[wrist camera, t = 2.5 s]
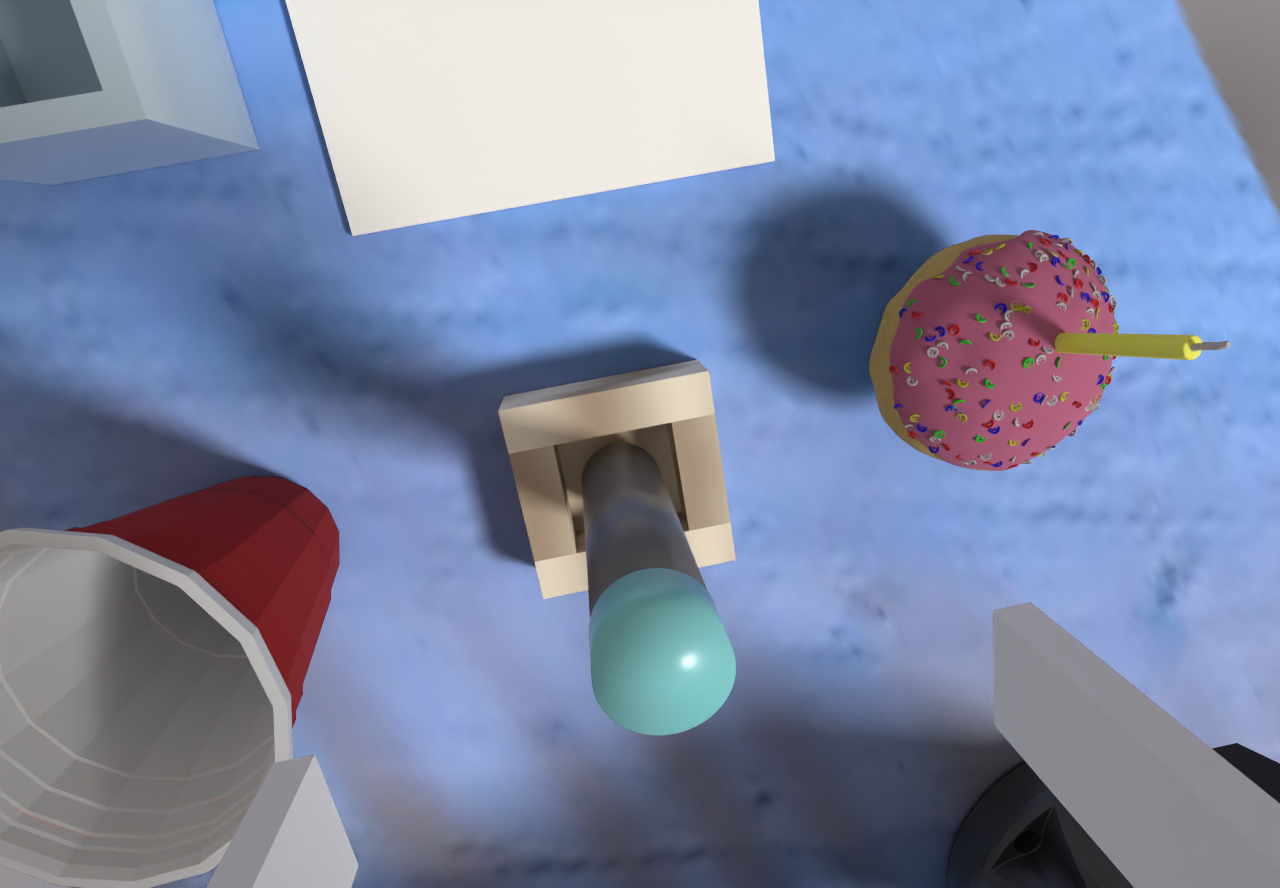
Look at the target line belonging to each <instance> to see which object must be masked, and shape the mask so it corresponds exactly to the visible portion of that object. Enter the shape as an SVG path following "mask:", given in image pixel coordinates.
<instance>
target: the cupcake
mask: <svg viewBox="0 0 1280 888" xmlns="http://www.w3.org/2000/svg"><path fill="white" fill-rule="evenodd" d="M1065 240H1066V241H1065ZM1067 240H1070V241H1067ZM1072 242H1073V240H1072V239H1071V238H1062V239H1060V238H1058V235H1050V234H1048V233H1044V232H1040V231H1034V230H1029V231H1025V232H1024V233H1022V234H1021V235H1019V236H1017V235H985V236H980V237H976V238H973V239H970V240H968V241H965V242H962V243H959V244H955V245H952V246H949V247H947V248H945V249H942V250H941V251H939V252H937V253H935V254H934V255H933V256H931V257H930V258H929V259H928V260H927V261H926V262H925V263H924V264H923V265H922V266H921V267H920V268H919V269H918V270H917V271H916V272H915V273H914V274H913V275H912V277H911V278H910V279H909V280H908V281H907V283H906V284H905V285H904V287H903V288H902V289H901V290H900V291H899V292H898V293H897V294H896V295H895V296H894V297H893V298H892V299H891V300H890V301H889V303H888V304H887V306H886V308H885V310H884V313H883V316H882V319H881V323H880V326H879V329H878V333H877V336H876V340H875V343H874V346H873V349H872V353H871V357H870V362H869V371H870V377H871V380H872V383H873V386H874V390H875V394H876V399H877V403H878V407H879V410H880V413H881V415H882V417H883V419H884V420H885V422H886V423H887V424H888V425H889V427H890V428H891V429H892V430H893V431H894V432H895V433H896V434H897V435H898V436H899V437H900V438H901V439H902V440H903V441H905V442H906V443H907V444H909V445H910V446H912V447H913V448H915V449H916V450H918V451H920V452H922V453H924V454H926V455H929V456H931V457H934V458H936V459H939V460H942V461H945V462H948V463H950V464H953V465H957V466H960V467H964V468H969V469H976V470H985V471H1001V470H1008V469H1011V468H1013V467H1016V466H1018V465H1019V464H1021V463H1023V464H1029V463H1032V461H1027V460H1029V459H1032V458H1034V457H1036V456H1038V457H1043V456H1044V455H1045V454H1046V453H1047V450H1048V449H1054V448H1055V446H1054V445H1056V444H1057V443H1058V442H1059V441H1061V440H1062V439H1063V438H1065V437H1066V436H1067V435H1069V436H1075V435H1076V433H1077V430H1076V428H1077V427H1078V426H1079V425H1081V423H1082V421H1083V420H1084V419H1085V418H1086V417H1087V416H1088V415H1089V414H1090V413H1091V412H1092V411H1094V410H1096V409H1097V408H1098V407H1099V404H1098V403H1097V402H1098V401H1099V400H1101V399H1102V398H1103V396H1102V394H1103V391H1104V389H1105V386H1106V385H1108V384H1109V383H1110V382H1111V378H1112V376H1111V374H1110V373H1111V372H1112V371H1113V370H1114V369H1115V367H1112V368H1111V363H1112V359H1115V358H1116V356H1127V357H1145V358H1163V359H1181V360H1192V359H1195V358H1197V357H1198V356H1199V355H1200V353H1201V351H1202V350H1222V349H1226V348H1228V347H1230V345H1231V343H1230V341H1223V342H1203V343H1202V341H1201V339H1200V338H1199V337H1198V336H1195V335H1156V334H1118V329H1119V326H1118V324H1116V319H1114V310H1115V309H1116V307H1117V304H1116V302H1115V301H1114V299H1115V297H1114V295H1111V296H1109V294H1110V293H1109V291H1108V289H1107V287H1106V286H1105V285H1104V284H1105V283H1106V282H1107V279H1106V277H1105V276H1102V275H1100V274H1101V273H1102V272H1101V270H1100V268H1098V267H1097V264H1096V262H1095V261H1094V260H1091V261H1090V257H1089V256H1088V255H1083V252H1082V251H1081V250H1078V249H1076V248H1075V247H1074V246H1072V245H1071V243H1072ZM1086 257H1087V258H1086ZM1091 263H1092V264H1091ZM1093 264H1094V266H1093ZM1097 269H1098V270H1097ZM1101 278H1103V279H1102V280H1104V281H1103V282H1102V280H1101ZM1111 299H1112V301H1111ZM1113 303H1114V306H1113ZM1112 306H1113V307H1114V308H1112ZM1110 368H1111V369H1110ZM1107 380H1108V381H1107ZM1095 405H1096V406H1095ZM1094 407H1096V408H1094ZM1073 430H1074V431H1073ZM1072 432H1074V434H1072ZM1070 433H1071V434H1070ZM1043 453H1044V454H1043Z"/></svg>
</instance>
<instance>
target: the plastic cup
mask: <svg viewBox="0 0 1280 888" xmlns="http://www.w3.org/2000/svg"><path fill="white" fill-rule="evenodd" d="M338 567H339V531H338V528H337V526H336V524H335V522H334V520H333V518H332V516H331V513H330V511H329V509H328V508H327V507H326V506H325V505H324V504H323V503H322V502H321V501H320V500H319V499H318V498H317V497H315V496H314V495H313V494H312V493H311V492H310V491H309V490H308V489H306V488H304V487H301V486H299V485H297V484H294V483H292V482H290V481H287V480H285V479H283V478H276V477H261V476H250V477H241V478H237V479H234V480H231V481H228V482H224V483H221V484H218V485H215V486H212V487H210V488H206V489H203V490H200V491H196V492H193V493H190V494H187V495H183V496H180V497H177V498H174V499H170V500H167V501H165V502H162V503H159V504H156V505H153V506H150V507H147V508H144V509H141V510H138V511H135V512H133V513H130V514H127V515H124V516H121V517H118V518H115V519H112V520H109V521H106V522H105V521H104V522H101V523H97V524H94V525H91V526H87V527H84V528H76V527H74V528H71V529H68V530H64V531H60V530H48V529H36V528H25V527H24V528H16V529H9V530H5V531H2V532H0V865H2V866H5V867H7V868H10V869H13V870H16V871H19V872H21V873H24V874H27V875H29V876H32V877H35V878H38V879H40V880H43V881H46V882H49V883H51V884H54V885H57V886H66V887H82V888H150V887H154V886H158V885H162V884H165V883H169V882H173V881H177V880H181V879H184V878H188V877H192V876H196V875H200V874H203V873H207V872H209V871H210V870H211V869H213V868H214V867H215V866H217V865H218V864H219V863H220V861H221V859H222V857H223V855H224V853H225V852H226V850H227V848H228V846H229V844H230V842H231V840H232V839H233V837H234V835H235V833H236V831H237V829H238V827H239V826H240V824H241V822H242V820H243V818H244V816H245V814H246V813H247V811H248V809H249V807H250V805H251V803H252V802H253V800H254V798H255V796H256V794H257V792H258V790H259V789H260V787H261V785H262V783H263V781H264V779H265V777H266V776H267V774H268V772H269V770H270V768H271V766H272V764H273V763H276V762H280V761H285V760H290V759H293V747H292V728H293V725H294V723H295V720H296V709H297V707H298V704H299V702H300V699H301V697H302V694H303V682H304V679H305V676H306V673H307V670H308V667H309V664H310V661H311V658H312V655H313V652H314V649H315V646H316V643H317V640H318V637H319V634H320V631H321V628H322V625H323V622H324V618H325V615H326V612H327V609H328V606H329V603H330V600H331V588H332V585H333V582H334V579H335V576H336V573H337V570H338Z"/></svg>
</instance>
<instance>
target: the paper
mask: <svg viewBox="0 0 1280 888" xmlns="http://www.w3.org/2000/svg"><path fill="white" fill-rule="evenodd" d="M285 1H286V4H287V8H288V11H289V15H290V18H291V22H292V25H293V29H294V32H295V36H296V39H297V43H298V46H299V50H300V53H301V57H302V60H303V64H304V67H305V71H306V74H307V78H308V81H309V85H310V88H311V92H312V95H313V99H314V103H315V106H316V110H317V113H318V117H319V120H320V124H321V127H322V131H323V134H324V138H325V141H326V145H327V148H328V152H329V155H330V159H331V162H332V166H333V169H334V173H335V176H336V180H337V183H338V187H339V190H340V194H341V197H342V201H343V204H344V208H345V211H346V215H347V218H348V222H349V225H350V229H351V232H352V236H357V235H363V234H369V233H374V232H380V231H385V230H391V229H397V228H402V227H408V226H414V225H419V224H425V223H430V222H436V221H442V220H447V219H453V218H459V217H464V216H470V215H475V214H481V213H487V212H492V211H498V210H504V209H509V208H515V207H520V206H526V205H532V204H537V203H543V202H549V201H554V200H560V199H565V198H571V197H577V196H582V195H588V194H594V193H599V192H605V191H611V190H616V189H622V188H627V187H633V186H639V185H644V184H650V183H656V182H661V181H667V180H672V179H678V178H684V177H689V176H695V175H701V174H706V173H712V172H717V171H723V170H729V169H734V168H740V167H746V166H751V165H757V164H762V163H768V162H773V161H775V156H774V146H773V137H772V127H771V118H770V108H769V99H768V89H767V79H766V70H765V60H764V51H763V41H762V31H761V22H760V12H759V3H758V0H285Z"/></svg>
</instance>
